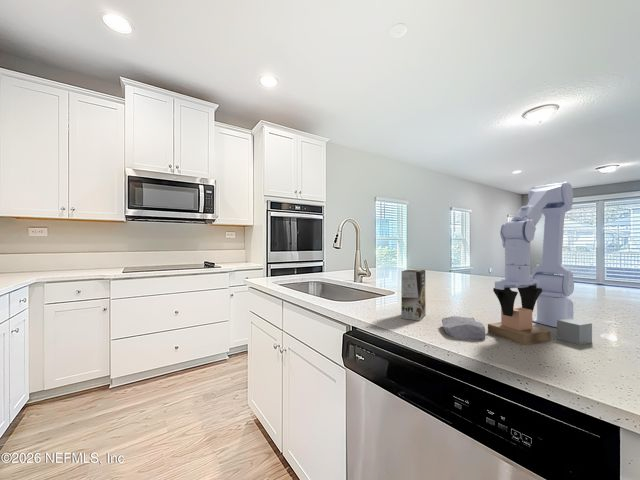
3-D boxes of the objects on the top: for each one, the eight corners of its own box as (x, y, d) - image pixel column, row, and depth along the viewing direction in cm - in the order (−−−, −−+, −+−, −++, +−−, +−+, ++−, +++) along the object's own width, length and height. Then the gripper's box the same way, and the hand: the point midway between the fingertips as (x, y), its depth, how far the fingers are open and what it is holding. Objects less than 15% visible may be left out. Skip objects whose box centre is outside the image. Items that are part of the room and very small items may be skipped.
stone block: (450, 345, 75) (490, 340, 73) (446, 327, 75) (486, 321, 73) (440, 333, 86) (474, 328, 85) (436, 317, 87) (470, 312, 85)
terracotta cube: (514, 323, 80) (513, 305, 80) (532, 328, 75) (532, 309, 75) (501, 325, 78) (501, 307, 78) (519, 330, 73) (519, 311, 73)
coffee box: (420, 321, 91) (420, 271, 91) (400, 318, 94) (400, 270, 94) (426, 315, 98) (426, 269, 98) (407, 312, 102) (407, 268, 102)
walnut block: (513, 330, 82) (513, 320, 82) (550, 342, 73) (550, 331, 73) (487, 334, 79) (487, 323, 79) (523, 347, 70) (523, 335, 70)
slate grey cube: (569, 336, 76) (569, 318, 76) (592, 342, 72) (591, 323, 72) (557, 338, 75) (557, 319, 75) (579, 345, 70) (579, 325, 70)
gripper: (521, 262, 82) (521, 308, 82) (484, 264, 78) (484, 313, 78) (547, 264, 76) (547, 314, 76) (509, 266, 71) (509, 319, 71)
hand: (517, 314), depth 76 cm, fingers open, 7 cm apart
